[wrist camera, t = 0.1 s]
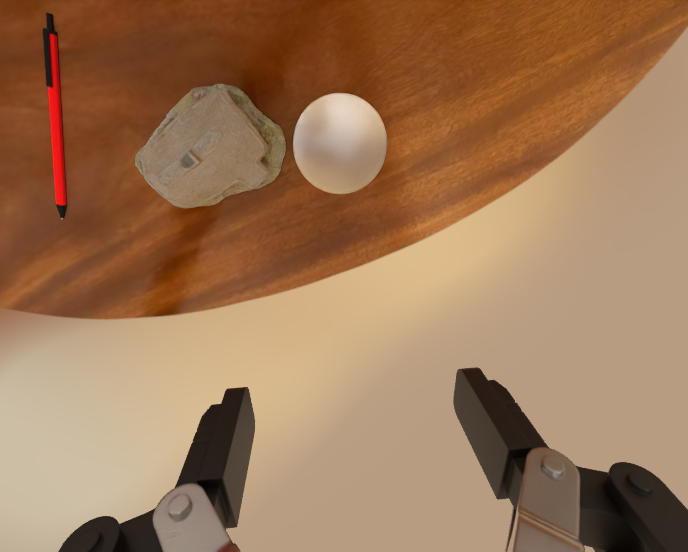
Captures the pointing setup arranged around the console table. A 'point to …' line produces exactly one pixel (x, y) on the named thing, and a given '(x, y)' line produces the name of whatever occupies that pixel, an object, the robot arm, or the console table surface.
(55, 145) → the pen
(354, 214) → the console table surface
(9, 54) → the console table surface
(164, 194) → the ceramic model
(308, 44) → the console table surface
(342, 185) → the beige coaster
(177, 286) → the console table surface
